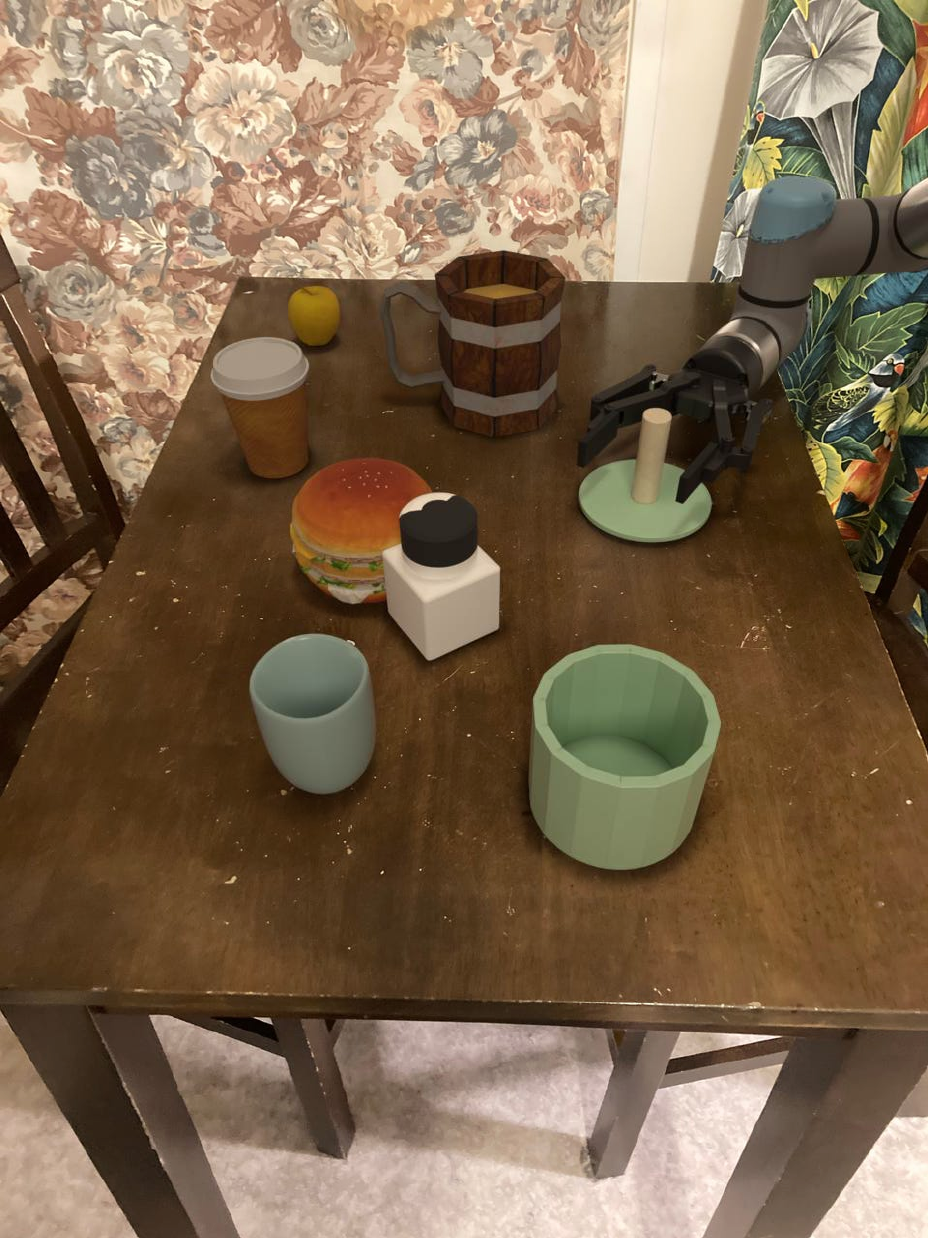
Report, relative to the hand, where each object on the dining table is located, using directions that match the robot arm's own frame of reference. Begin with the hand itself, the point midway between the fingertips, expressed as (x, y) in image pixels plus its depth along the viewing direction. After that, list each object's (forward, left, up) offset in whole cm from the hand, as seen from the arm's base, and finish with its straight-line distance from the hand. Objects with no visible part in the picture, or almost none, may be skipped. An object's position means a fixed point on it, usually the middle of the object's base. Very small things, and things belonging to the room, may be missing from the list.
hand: (629, 472), depth 78 cm
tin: (-7, +30, -7) cm, 31 cm away
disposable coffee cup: (+37, +2, -7) cm, 38 cm away
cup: (+13, +35, -7) cm, 38 cm away
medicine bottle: (+11, +18, -7) cm, 22 cm away
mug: (+22, -16, -7) cm, 28 cm away
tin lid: (-1, -4, -6) cm, 7 cm away
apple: (+46, -23, -7) cm, 52 cm away
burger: (+20, +14, -7) cm, 25 cm away
